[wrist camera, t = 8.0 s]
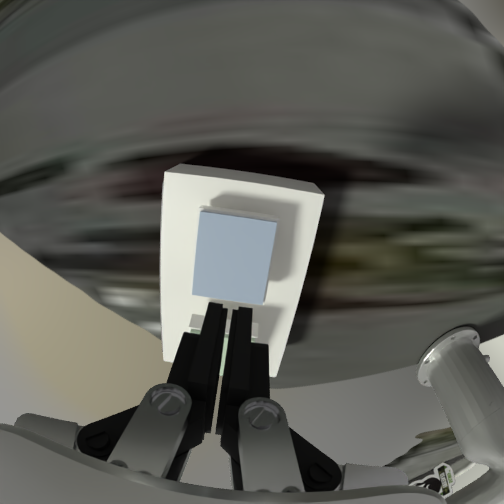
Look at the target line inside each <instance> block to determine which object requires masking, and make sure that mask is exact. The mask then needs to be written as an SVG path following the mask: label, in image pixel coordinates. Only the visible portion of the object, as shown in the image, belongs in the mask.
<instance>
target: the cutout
mask: <svg viewBox="0 0 504 504" xmlns="http://www.w3.org/2000/svg"><path fill="white" fill-rule="evenodd" d="M454 484H455V477H454V474H453V469H452V468H451V467H450V465H448V464H446V463H442V464H440V465H438V466H437V467H435V468H434V475H429V476H427V477H425V478H424V479H422V480H417V481H414V482H412V483H411V484H410V486H419V487H424V488H427V489H431V490H433V491H436V492H437V493H439V494H440V495H441V496H442V497H443V498H444V499H445V498H447V497H448V496H450V495H452V493H453V491H452V486H453V485H454Z"/></svg>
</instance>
